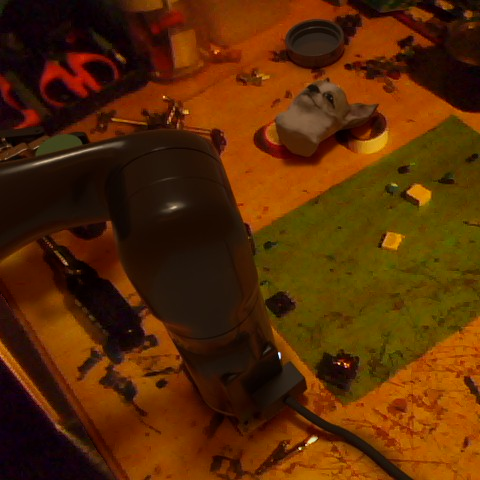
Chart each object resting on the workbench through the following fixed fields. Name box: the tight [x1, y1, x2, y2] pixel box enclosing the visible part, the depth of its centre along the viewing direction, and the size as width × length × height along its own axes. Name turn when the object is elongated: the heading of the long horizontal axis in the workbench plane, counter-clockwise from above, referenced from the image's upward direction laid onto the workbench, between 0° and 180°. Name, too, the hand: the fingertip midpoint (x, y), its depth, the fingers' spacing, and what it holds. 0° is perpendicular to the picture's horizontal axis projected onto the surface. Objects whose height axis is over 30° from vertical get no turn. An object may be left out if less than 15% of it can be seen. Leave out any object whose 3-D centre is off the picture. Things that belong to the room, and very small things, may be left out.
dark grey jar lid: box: [284, 18, 346, 69], centre depth 104 cm, size 9×9×2 cm
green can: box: [34, 133, 83, 156], centre depth 74 cm, size 5×5×8 cm
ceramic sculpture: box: [273, 77, 380, 158], centre depth 91 cm, size 11×9×15 cm
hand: (89, 157), depth 73 cm, fingers closed on green can, 5 cm apart
